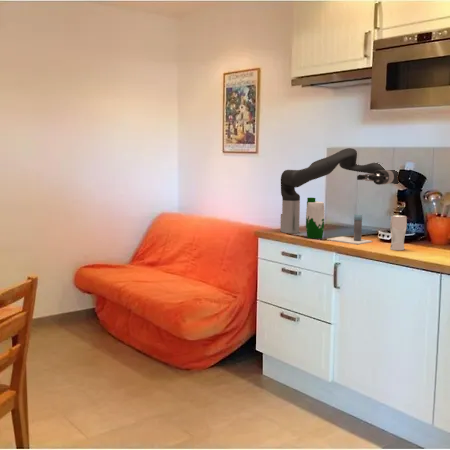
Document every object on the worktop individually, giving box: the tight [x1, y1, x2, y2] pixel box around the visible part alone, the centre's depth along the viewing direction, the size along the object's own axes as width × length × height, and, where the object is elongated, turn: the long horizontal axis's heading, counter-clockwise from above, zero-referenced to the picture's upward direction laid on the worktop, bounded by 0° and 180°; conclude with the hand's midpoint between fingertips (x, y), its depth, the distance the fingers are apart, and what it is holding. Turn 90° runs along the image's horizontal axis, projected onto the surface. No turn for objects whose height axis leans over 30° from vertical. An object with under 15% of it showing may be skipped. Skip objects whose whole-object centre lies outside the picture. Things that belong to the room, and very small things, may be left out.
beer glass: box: [389, 214, 408, 251], centre depth 257 cm, size 7×7×15 cm
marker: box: [353, 213, 363, 241], centre depth 277 cm, size 4×4×12 cm
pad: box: [326, 236, 373, 245], centre depth 280 cm, size 18×12×1 cm, turn 42°
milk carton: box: [305, 197, 325, 239], centre depth 290 cm, size 9×9×20 cm
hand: (365, 178), depth 287 cm, fingers open, 8 cm apart
